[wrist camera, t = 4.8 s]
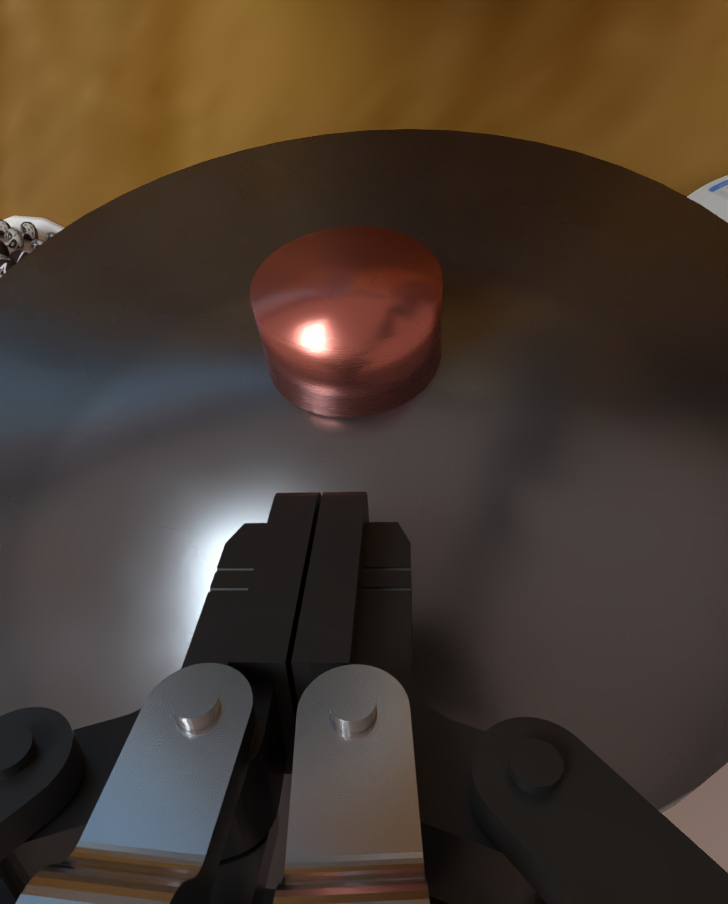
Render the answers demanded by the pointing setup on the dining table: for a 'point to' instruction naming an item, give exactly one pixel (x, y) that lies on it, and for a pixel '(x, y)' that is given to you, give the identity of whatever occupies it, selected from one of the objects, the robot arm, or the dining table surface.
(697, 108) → the dining table surface
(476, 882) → the robot arm
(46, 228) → the decorative candle
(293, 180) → the cooker lid
